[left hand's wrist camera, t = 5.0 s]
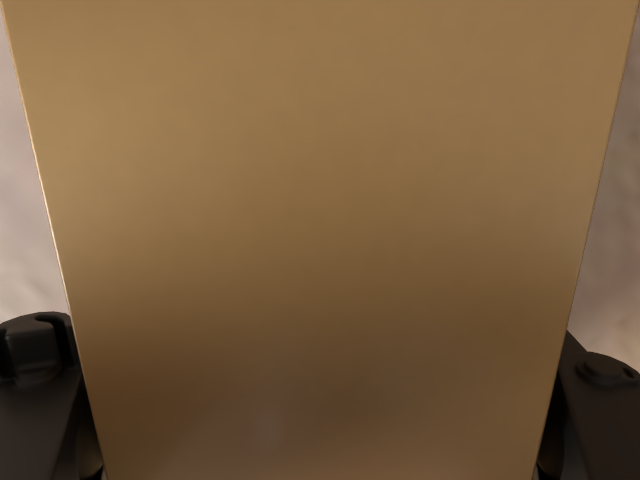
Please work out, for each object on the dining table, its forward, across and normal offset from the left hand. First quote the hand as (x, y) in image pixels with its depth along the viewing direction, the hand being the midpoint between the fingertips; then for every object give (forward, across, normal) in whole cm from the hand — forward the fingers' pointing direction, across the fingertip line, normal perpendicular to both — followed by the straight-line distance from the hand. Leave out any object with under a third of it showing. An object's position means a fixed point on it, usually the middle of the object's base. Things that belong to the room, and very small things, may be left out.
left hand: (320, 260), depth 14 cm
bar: (0, 0, -25) cm, 25 cm away
